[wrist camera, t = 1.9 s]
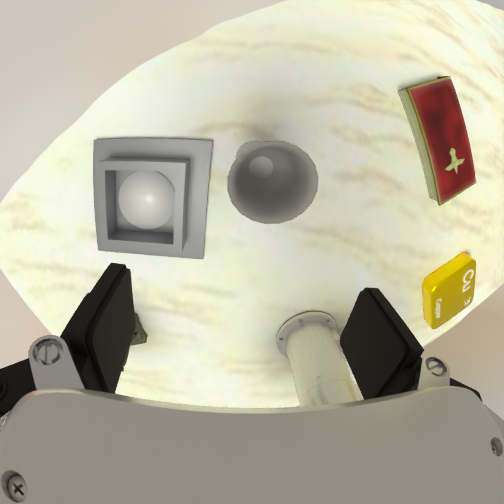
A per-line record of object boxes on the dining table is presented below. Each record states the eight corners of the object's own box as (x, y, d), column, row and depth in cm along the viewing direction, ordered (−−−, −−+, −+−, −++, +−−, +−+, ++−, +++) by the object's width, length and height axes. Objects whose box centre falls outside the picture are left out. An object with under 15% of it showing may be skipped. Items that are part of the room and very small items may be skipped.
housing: (212, 140, 35) (210, 142, 31) (203, 256, 43) (200, 272, 38) (96, 139, 33) (81, 142, 29) (100, 247, 41) (88, 261, 36)
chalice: (231, 185, 38) (234, 230, 22) (224, 139, 35) (220, 148, 19) (281, 177, 39) (321, 216, 22) (276, 132, 36) (314, 136, 19)
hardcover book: (437, 76, 32) (452, 75, 28) (464, 177, 40) (478, 182, 37) (393, 89, 33) (408, 88, 29) (427, 199, 42) (440, 206, 38)
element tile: (420, 278, 50) (432, 290, 46) (465, 248, 48) (478, 257, 44) (423, 322, 56) (432, 333, 52) (464, 293, 54) (474, 303, 50)
